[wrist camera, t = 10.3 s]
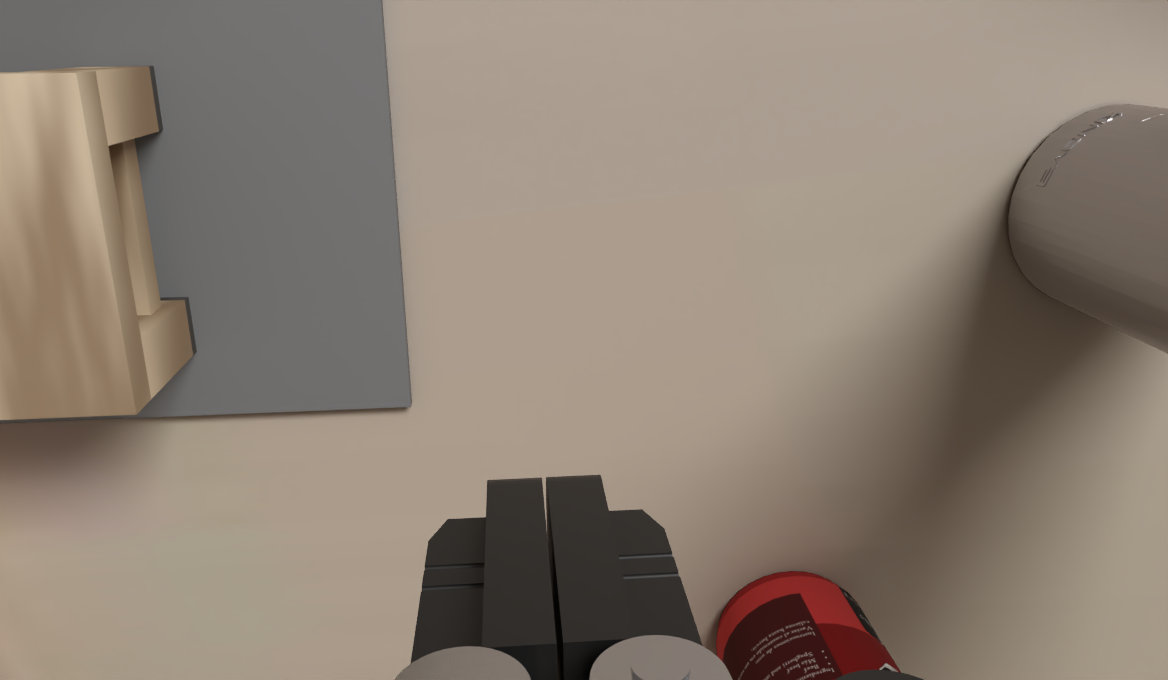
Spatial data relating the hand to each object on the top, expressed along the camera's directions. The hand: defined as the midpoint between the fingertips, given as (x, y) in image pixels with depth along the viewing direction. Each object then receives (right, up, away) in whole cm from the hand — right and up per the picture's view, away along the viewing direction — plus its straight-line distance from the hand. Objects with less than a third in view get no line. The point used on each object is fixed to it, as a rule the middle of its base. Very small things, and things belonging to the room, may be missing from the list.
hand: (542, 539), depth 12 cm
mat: (-19, +8, +26) cm, 33 cm away
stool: (-16, +7, +23) cm, 29 cm away
